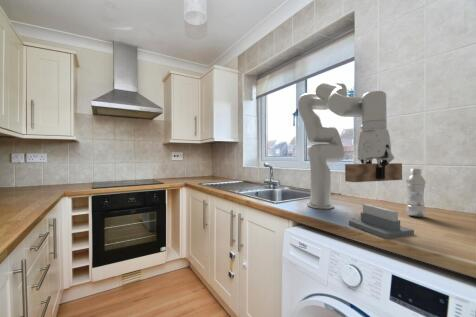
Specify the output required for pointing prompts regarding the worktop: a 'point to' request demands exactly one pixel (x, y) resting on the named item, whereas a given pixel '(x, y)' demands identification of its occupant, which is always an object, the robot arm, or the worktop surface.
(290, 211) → the worktop surface
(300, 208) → the worktop surface
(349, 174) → the brown wooden block
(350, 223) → the ridge stand
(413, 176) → the plastic bottle
